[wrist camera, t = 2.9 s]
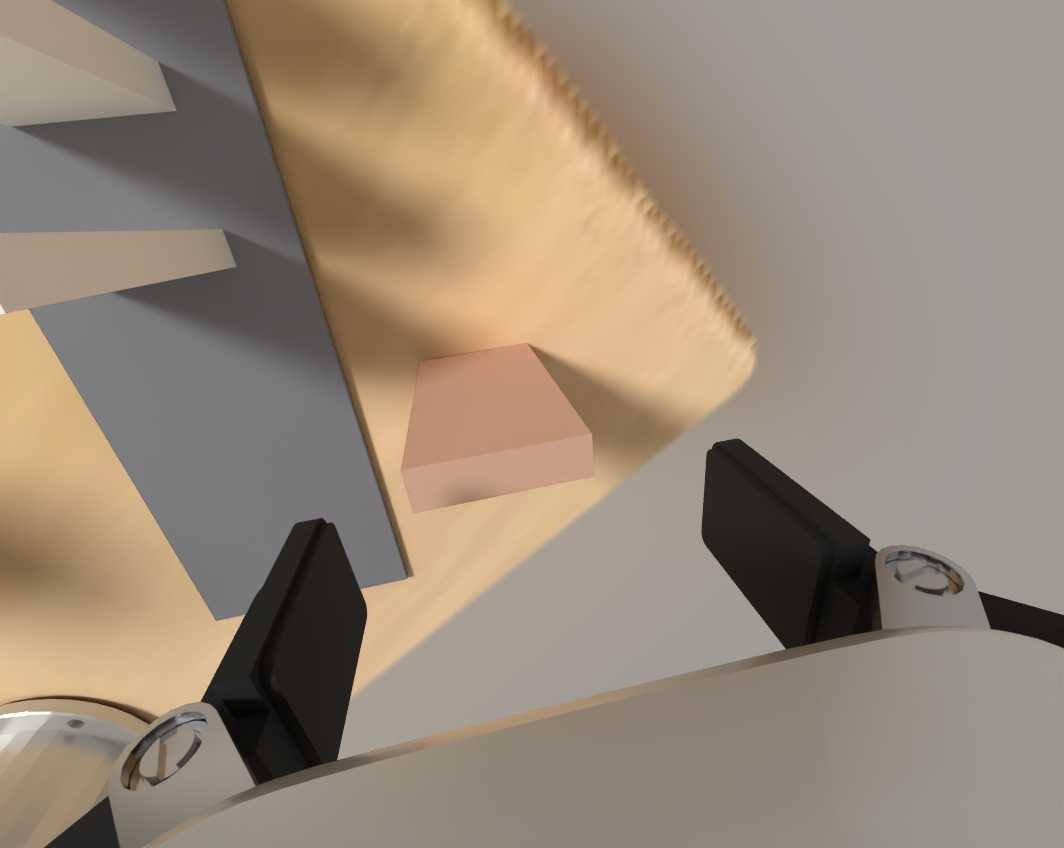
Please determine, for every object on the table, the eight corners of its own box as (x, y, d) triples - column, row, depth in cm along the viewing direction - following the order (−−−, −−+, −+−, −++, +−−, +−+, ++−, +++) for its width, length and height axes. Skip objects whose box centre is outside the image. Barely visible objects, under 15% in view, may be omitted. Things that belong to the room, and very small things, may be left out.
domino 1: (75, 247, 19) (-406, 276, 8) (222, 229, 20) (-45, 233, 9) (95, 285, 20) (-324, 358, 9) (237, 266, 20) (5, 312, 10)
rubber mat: (-298, -256, 13) (-319, -269, 13) (142, -258, 14) (134, -271, 14) (219, 615, 28) (216, 620, 28) (407, 574, 30) (406, 578, 29)
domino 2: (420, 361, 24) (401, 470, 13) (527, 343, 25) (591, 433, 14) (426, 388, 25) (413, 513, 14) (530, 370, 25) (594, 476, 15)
